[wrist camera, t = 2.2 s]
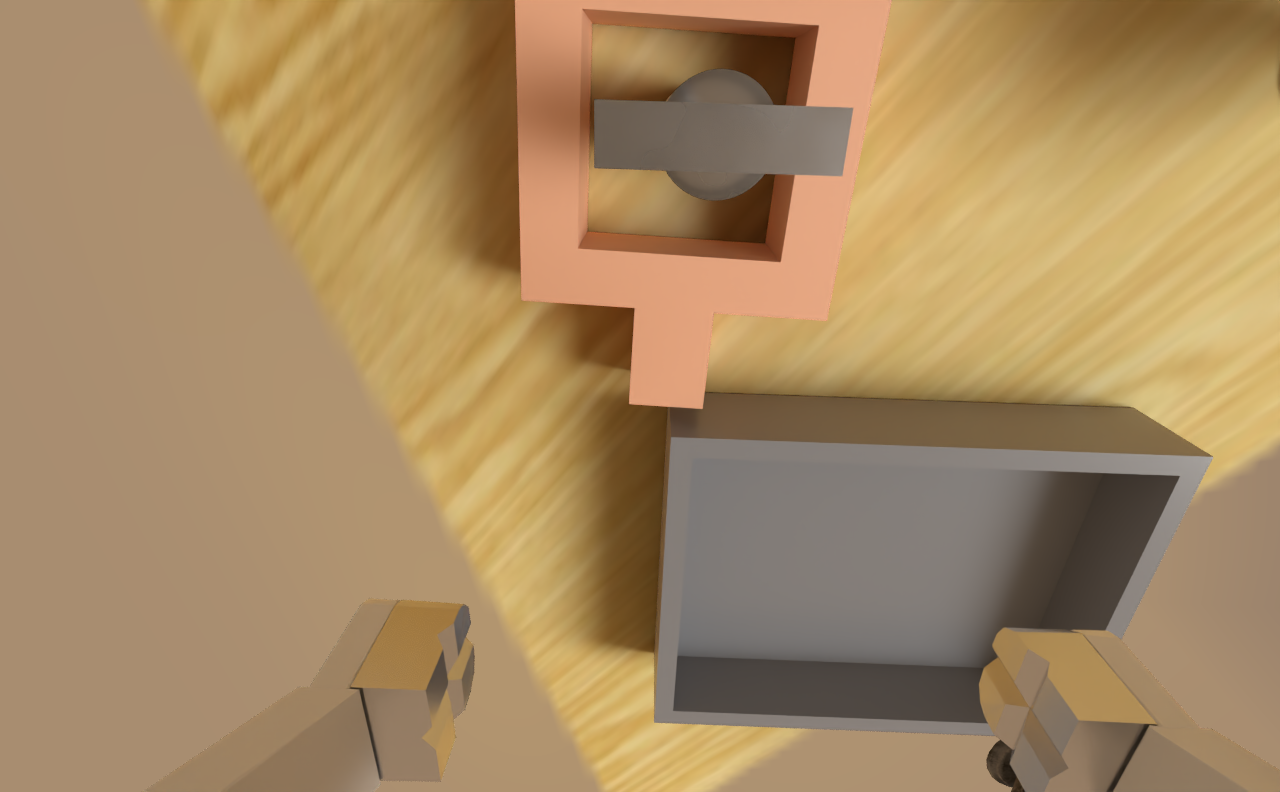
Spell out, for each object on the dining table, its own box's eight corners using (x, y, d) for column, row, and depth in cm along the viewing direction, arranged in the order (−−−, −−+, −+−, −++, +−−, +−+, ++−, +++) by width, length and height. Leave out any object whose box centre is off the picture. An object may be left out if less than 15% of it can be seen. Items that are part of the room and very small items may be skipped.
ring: (534, -51, 18) (513, -79, 15) (865, -27, 18) (902, -52, 16) (538, 364, 24) (523, 397, 21) (790, 381, 24) (807, 415, 21)
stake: (620, 84, 20) (594, 62, 11) (768, 89, 20) (858, 71, 11) (619, 163, 21) (594, 200, 12) (760, 168, 21) (836, 208, 12)
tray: (668, 391, 24) (671, 437, 21) (1133, 407, 24) (1213, 456, 21) (654, 653, 30) (654, 722, 27) (1023, 668, 30) (1071, 739, 27)
